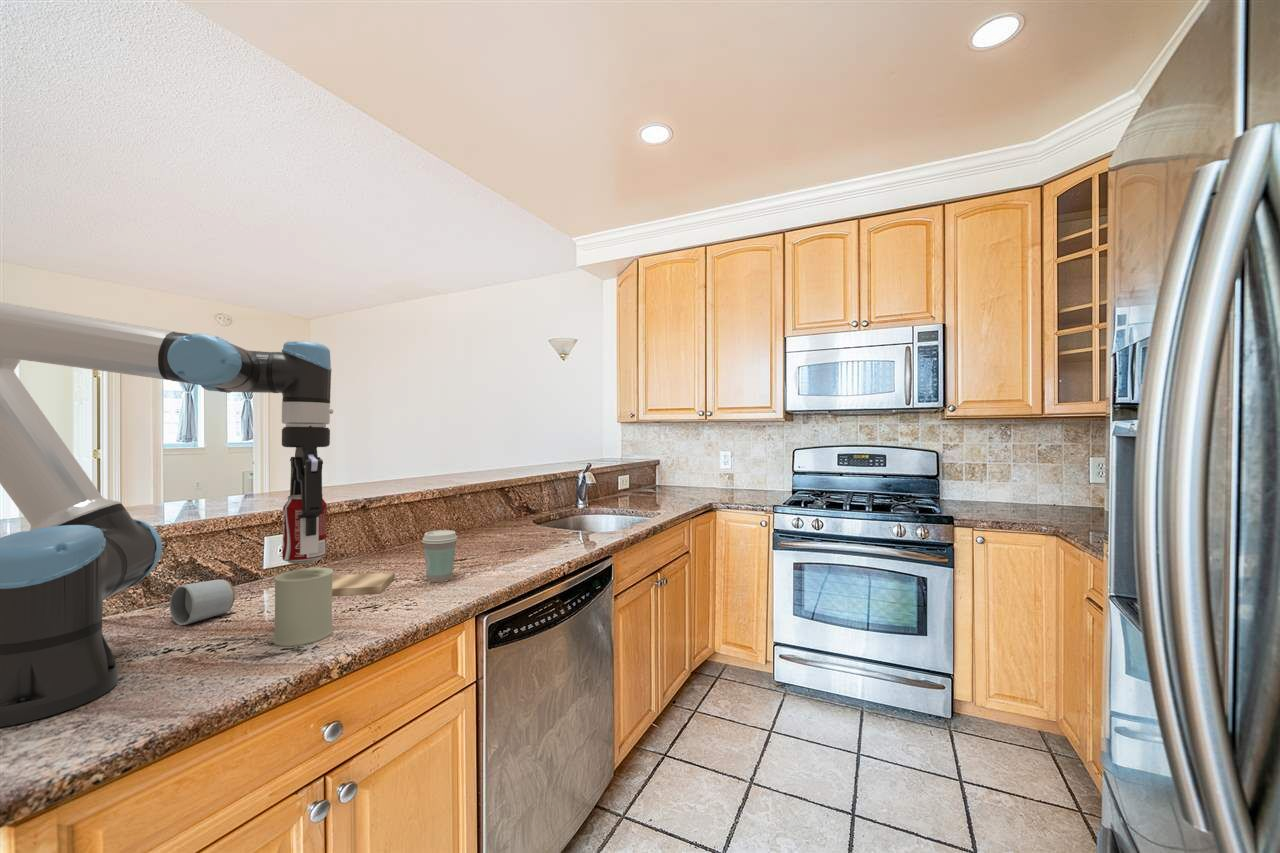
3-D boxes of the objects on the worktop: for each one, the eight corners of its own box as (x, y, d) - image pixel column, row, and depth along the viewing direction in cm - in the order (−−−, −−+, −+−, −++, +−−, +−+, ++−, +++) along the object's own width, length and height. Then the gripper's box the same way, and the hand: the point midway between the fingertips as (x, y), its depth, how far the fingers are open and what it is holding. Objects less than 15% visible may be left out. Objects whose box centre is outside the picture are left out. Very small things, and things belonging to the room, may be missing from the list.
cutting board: (304, 597, 117) (305, 590, 117) (326, 582, 128) (326, 575, 128) (380, 593, 120) (380, 586, 120) (394, 578, 132) (394, 572, 132)
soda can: (333, 559, 96) (334, 495, 96) (293, 567, 90) (294, 499, 90) (314, 554, 99) (315, 492, 100) (275, 561, 94) (276, 496, 94)
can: (303, 648, 89) (304, 579, 89) (259, 643, 91) (260, 576, 91) (344, 628, 98) (345, 566, 98) (303, 625, 100) (304, 563, 100)
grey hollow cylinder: (238, 614, 106) (238, 576, 106) (191, 628, 98) (192, 587, 98) (205, 608, 110) (205, 572, 110) (158, 621, 102) (158, 583, 102)
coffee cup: (433, 574, 136) (433, 529, 136) (463, 575, 135) (463, 530, 135) (414, 583, 128) (415, 535, 128) (446, 585, 127) (447, 536, 127)
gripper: (343, 426, 91) (341, 555, 90) (317, 426, 105) (315, 538, 104) (293, 425, 85) (291, 563, 85) (272, 425, 100) (270, 544, 99)
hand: (304, 549), depth 95 cm, fingers closed on soda can, 7 cm apart
